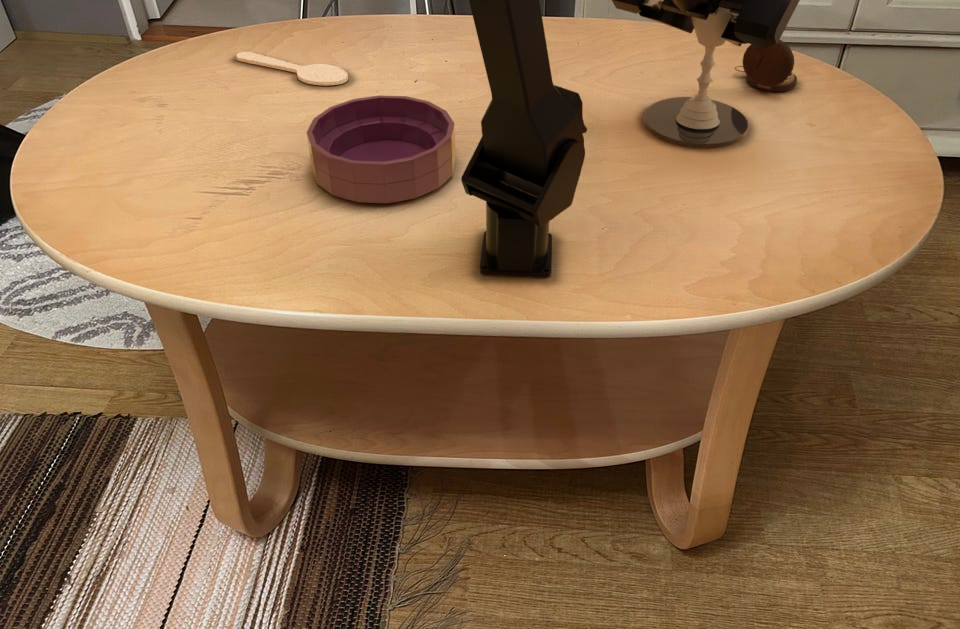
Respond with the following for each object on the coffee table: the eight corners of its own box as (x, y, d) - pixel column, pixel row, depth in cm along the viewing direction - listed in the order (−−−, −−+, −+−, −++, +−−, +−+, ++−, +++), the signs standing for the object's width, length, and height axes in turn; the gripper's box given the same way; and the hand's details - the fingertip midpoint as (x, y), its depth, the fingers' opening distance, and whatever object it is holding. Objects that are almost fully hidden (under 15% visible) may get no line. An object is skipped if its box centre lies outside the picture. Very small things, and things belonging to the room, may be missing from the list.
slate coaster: (755, 150, 89) (756, 145, 89) (648, 146, 90) (648, 141, 90) (737, 102, 98) (738, 98, 98) (640, 99, 99) (640, 95, 99)
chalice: (691, 103, 97) (717, -55, 86) (740, 119, 93) (773, -44, 82) (655, 120, 93) (677, -44, 83) (704, 138, 89) (734, -31, 79)
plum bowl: (446, 210, 80) (444, 166, 77) (299, 204, 81) (291, 161, 78) (460, 138, 92) (460, 97, 89) (331, 133, 93) (325, 93, 90)
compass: (801, 79, 104) (816, 23, 99) (782, 102, 99) (797, 44, 94) (742, 65, 107) (754, 10, 102) (720, 86, 102) (731, 30, 97)
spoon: (251, 49, 112) (250, 45, 111) (357, 74, 105) (357, 70, 105) (225, 63, 108) (224, 59, 108) (333, 89, 101) (333, 85, 101)
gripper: (820, -110, 70) (832, -13, 84) (637, -138, 79) (675, -47, 93) (761, 5, 70) (783, 83, 84) (586, -36, 80) (631, 40, 93)
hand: (716, 35), depth 88 cm, fingers open, 6 cm apart
